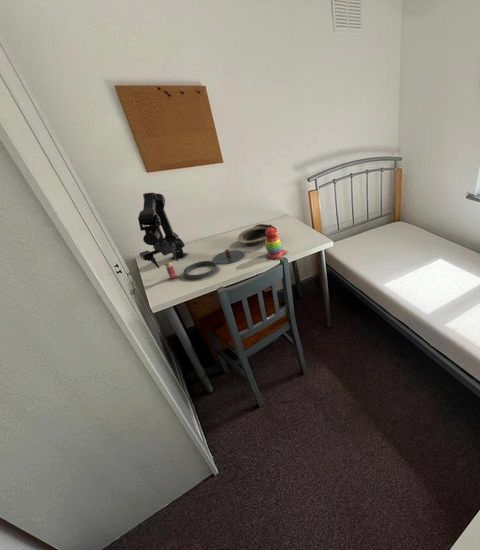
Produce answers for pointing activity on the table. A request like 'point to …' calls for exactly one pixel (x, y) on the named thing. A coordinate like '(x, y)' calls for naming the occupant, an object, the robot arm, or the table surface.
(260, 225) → the stone bowl
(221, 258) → the lid
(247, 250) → the table surface
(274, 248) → the stacking bear
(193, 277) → the pan
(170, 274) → the doll
